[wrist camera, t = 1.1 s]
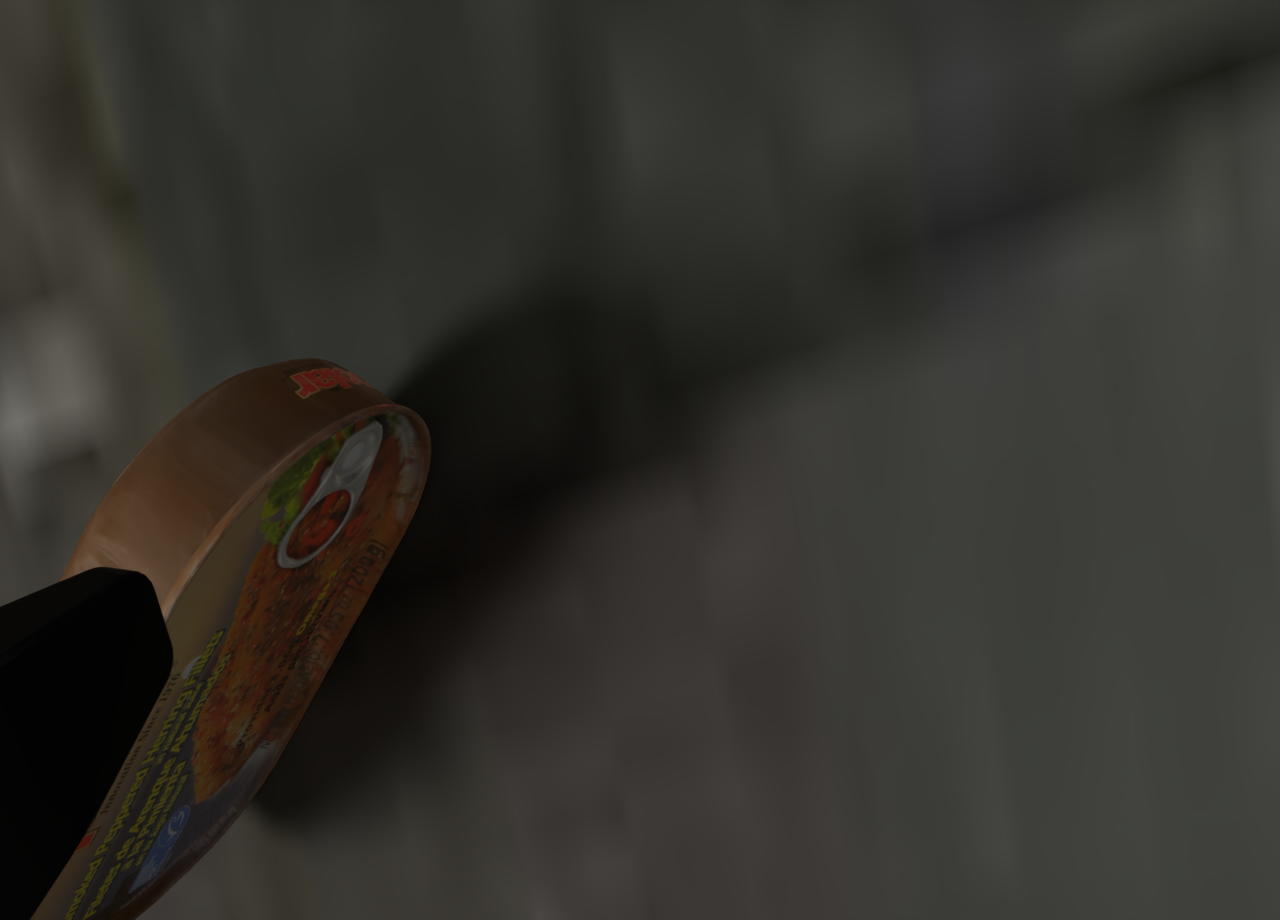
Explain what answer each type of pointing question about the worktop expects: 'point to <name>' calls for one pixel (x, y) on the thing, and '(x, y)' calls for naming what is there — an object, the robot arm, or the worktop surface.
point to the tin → (238, 602)
